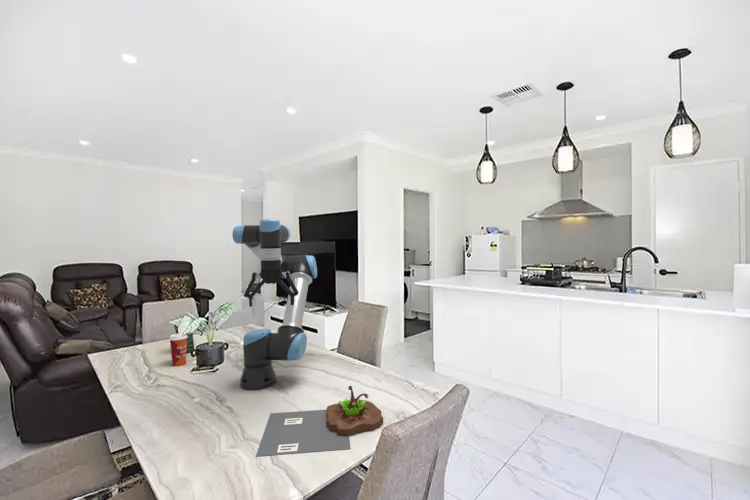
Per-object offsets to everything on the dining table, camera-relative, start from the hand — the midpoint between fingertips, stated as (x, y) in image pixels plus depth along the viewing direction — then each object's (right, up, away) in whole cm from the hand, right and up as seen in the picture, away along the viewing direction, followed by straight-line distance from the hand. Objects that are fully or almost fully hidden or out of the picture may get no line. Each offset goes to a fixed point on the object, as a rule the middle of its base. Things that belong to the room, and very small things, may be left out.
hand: (272, 314), depth 141 cm
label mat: (+17, -35, -19) cm, 43 cm away
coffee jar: (-67, -33, +64) cm, 99 cm away
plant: (+32, -35, -12) cm, 49 cm away
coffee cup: (-60, -34, +45) cm, 82 cm away
